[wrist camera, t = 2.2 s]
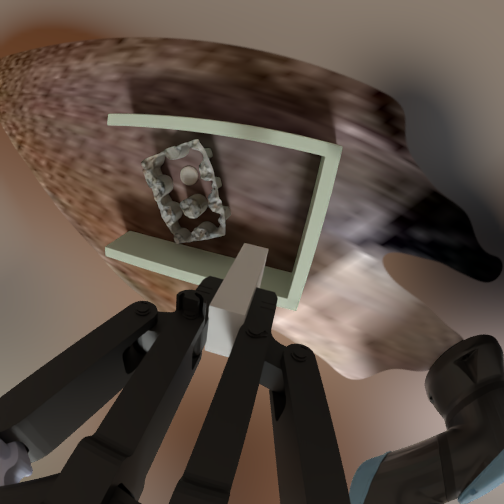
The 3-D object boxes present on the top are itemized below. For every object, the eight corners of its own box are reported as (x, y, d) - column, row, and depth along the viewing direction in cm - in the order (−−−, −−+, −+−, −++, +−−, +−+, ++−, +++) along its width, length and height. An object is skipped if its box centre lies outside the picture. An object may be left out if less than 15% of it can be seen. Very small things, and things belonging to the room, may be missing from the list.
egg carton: (156, 153, 30) (137, 157, 26) (214, 135, 28) (200, 136, 24) (180, 237, 34) (164, 250, 30) (237, 227, 32) (227, 241, 28)
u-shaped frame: (336, 144, 26) (342, 146, 21) (299, 283, 33) (296, 311, 28) (137, 113, 28) (108, 113, 23) (129, 238, 35) (105, 255, 30)
